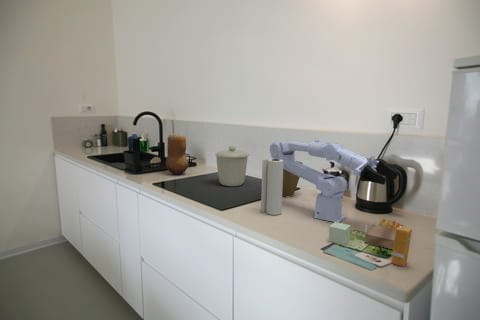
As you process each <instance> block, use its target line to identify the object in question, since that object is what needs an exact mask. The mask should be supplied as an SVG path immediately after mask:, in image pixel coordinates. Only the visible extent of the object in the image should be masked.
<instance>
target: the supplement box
mask: <svg viewBox="0 0 480 320" xmlns="http://www.w3.org/2000/svg"><path fill="white" fill-rule="evenodd" d="M404 226H405V225H404ZM404 226H399V227H398V228H397V229H396V232H395V239H394V246H393V250H392V254H391V255H392V256H391V260H390V261H391V262H390V263H391V264H394V265H395V266H399V267H402V268H404V267H405V266H406V264H408V263H407V262H408V258H409V249H410V244H411V236H412V228H410V227H407V226H406V227H404Z"/></svg>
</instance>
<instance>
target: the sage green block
mask: <svg viewBox="0 0 480 320" xmlns="http://www.w3.org/2000/svg"><path fill="white" fill-rule="evenodd" d="M351 227H352V226H351V225H350V224H347V223H341V222H339V223H338V222H333V223H331V224H330V225H329V231H328V242H330V243H333V244H338V245H342V246H346V245H347V244H348V243H349V241H350V238H351Z"/></svg>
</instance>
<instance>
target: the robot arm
mask: <svg viewBox="0 0 480 320" xmlns="http://www.w3.org/2000/svg"><path fill="white" fill-rule="evenodd" d="M296 151H298V152H306V153H308V155H310V156H311V157H317V158H320V159H321V158H323V159H325V160H326V161H329V162H331V161H334V162H336V163H338V164H340V165H341V166H344V167H345V168H348V169H350V170H352V171H353V173H352V174H353V176H356V177H359V181H360V182H370V183H376V184H379V185H386V182H387V178H388V179H392V180H396V179H397V178H398V176H399V173H398V172H397V171H396V170H395V169H393V168H391V166H389V164H388V163H387V162H386V160H384V159H379V160H374V159H372V158H373V157H372V156H370V155H369V156H367V157H364V156H363V155H361V154H358V153H356V152H355V151H354V152H353V151H351V150H349V149H346V148H344V146H343V145H342V144H340V143H337V142H335V143H332V144H331V143H330V141H325V142H320V140H317V139H316V140H314V141H310V143H307V142H306V143H305V142H300V141H296V140H292V141H291V140H287V141H277V142H276V141H274V142H272V143H271V144H270V146H269V154H270V157H271V159H280V160H283V169H285V170H287V171H289V172H291V173H293V174H295V175H297V176H299V177H300V178H301V179H303V180H305V181H307V182H309V183H311V184H313V185H315V189H316V190H319V191H320V193H318V194H317V196H316V198H315V209H314V216H313V218H315V219H319V220H323V221H329V222H333V223H334V222H338V223H341V221H342V220H344V219H345V218H346V215H343V202H344V194H345V193H344V192H346V190H347V189H348V181H347V180H346V179H345V178H344V177H343V176H340V175H339V176H335V175H333V174H327V173H323V172H320V171H318V170H316V169H314V168H313V167H310V166H308V165H306V164H304V163H303V164H301V163H299V162H300V161H299V162H297V161H298V160H296V153H295V152H296Z"/></svg>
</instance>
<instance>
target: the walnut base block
mask: <svg viewBox="0 0 480 320" xmlns="http://www.w3.org/2000/svg"><path fill="white" fill-rule="evenodd" d="M395 232H396V229H392V228H387V227H382V226H379V224H378V225H377V224H372V225H371V227H370V228H369V229H368V230H367V231H366V232H365V234H364V244H367V245H372V246H376V247H379V246H380V248H383V247H384V248H383V249H387V248H388V249H389V250H391V249H392V250H391V251H393V246H394V239H395Z"/></svg>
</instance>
